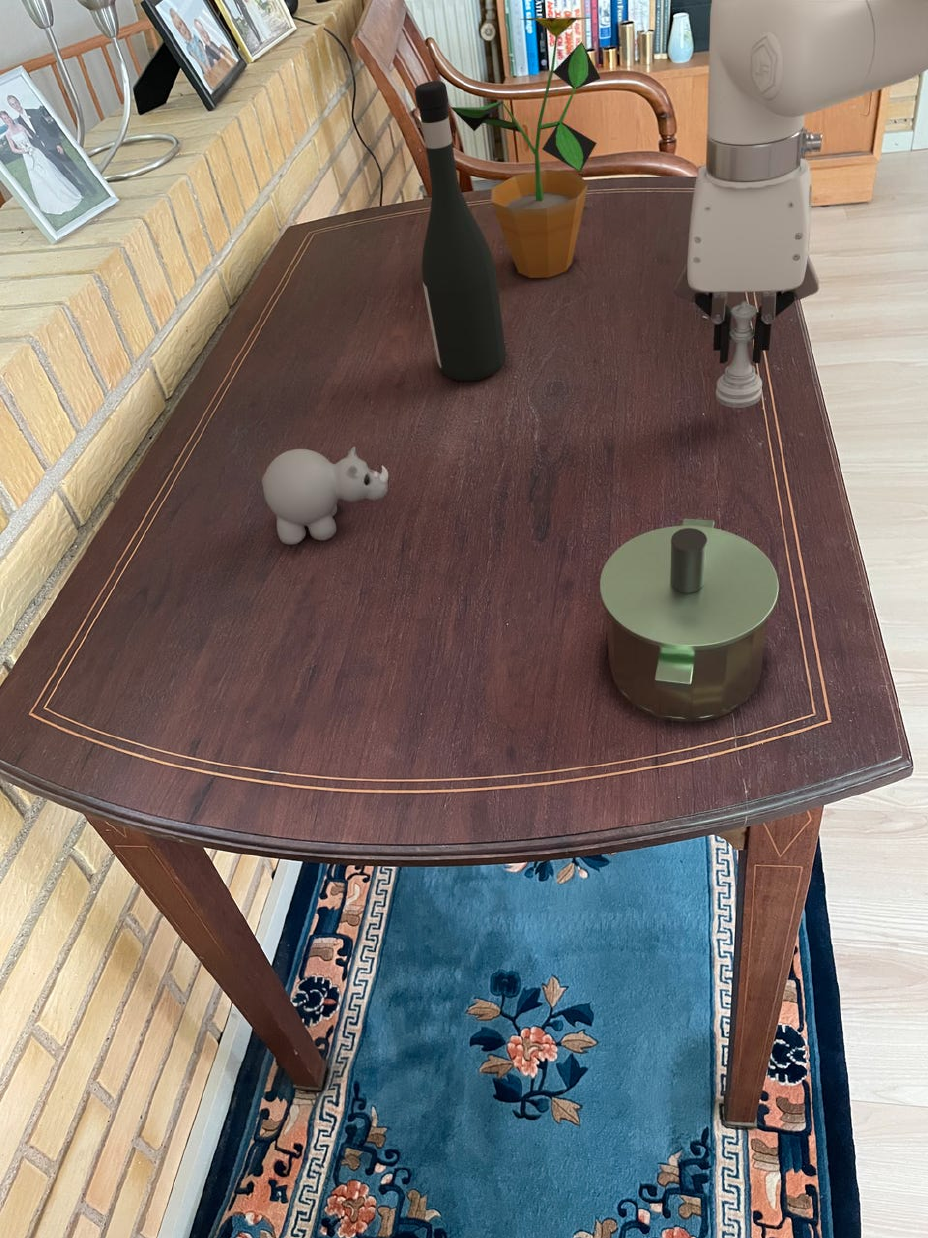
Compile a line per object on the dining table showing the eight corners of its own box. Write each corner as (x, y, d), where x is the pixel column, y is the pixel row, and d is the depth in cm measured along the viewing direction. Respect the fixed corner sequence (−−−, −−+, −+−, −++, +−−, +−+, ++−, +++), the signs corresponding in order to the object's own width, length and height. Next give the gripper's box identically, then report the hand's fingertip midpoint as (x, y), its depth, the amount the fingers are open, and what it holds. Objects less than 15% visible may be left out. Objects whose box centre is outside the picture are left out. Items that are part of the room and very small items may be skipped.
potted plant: (641, 264, 120) (639, -6, 99) (515, 311, 116) (486, 40, 94) (571, 222, 132) (556, -26, 111) (454, 264, 128) (416, 14, 106)
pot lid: (781, 542, 68) (788, 487, 65) (772, 666, 60) (780, 612, 57) (615, 530, 72) (613, 478, 68) (586, 646, 64) (582, 594, 60)
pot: (766, 596, 76) (776, 516, 70) (753, 762, 65) (763, 684, 59) (627, 584, 79) (625, 507, 73) (592, 740, 68) (587, 664, 62)
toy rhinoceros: (398, 537, 88) (379, 465, 82) (275, 555, 88) (248, 485, 82) (397, 492, 93) (380, 420, 87) (282, 509, 94) (256, 440, 88)
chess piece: (755, 382, 92) (763, 286, 85) (766, 405, 89) (775, 308, 82) (711, 388, 93) (715, 294, 86) (720, 411, 90) (725, 315, 83)
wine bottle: (426, 377, 108) (371, 97, 86) (464, 344, 112) (420, 69, 91) (482, 391, 104) (439, 101, 83) (520, 356, 108) (488, 72, 87)
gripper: (858, 130, 75) (830, 336, 88) (660, 143, 80) (660, 337, 93) (859, 164, 70) (830, 377, 83) (648, 176, 75) (650, 376, 88)
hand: (740, 354), depth 88 cm, fingers closed on chess piece, 2 cm apart
